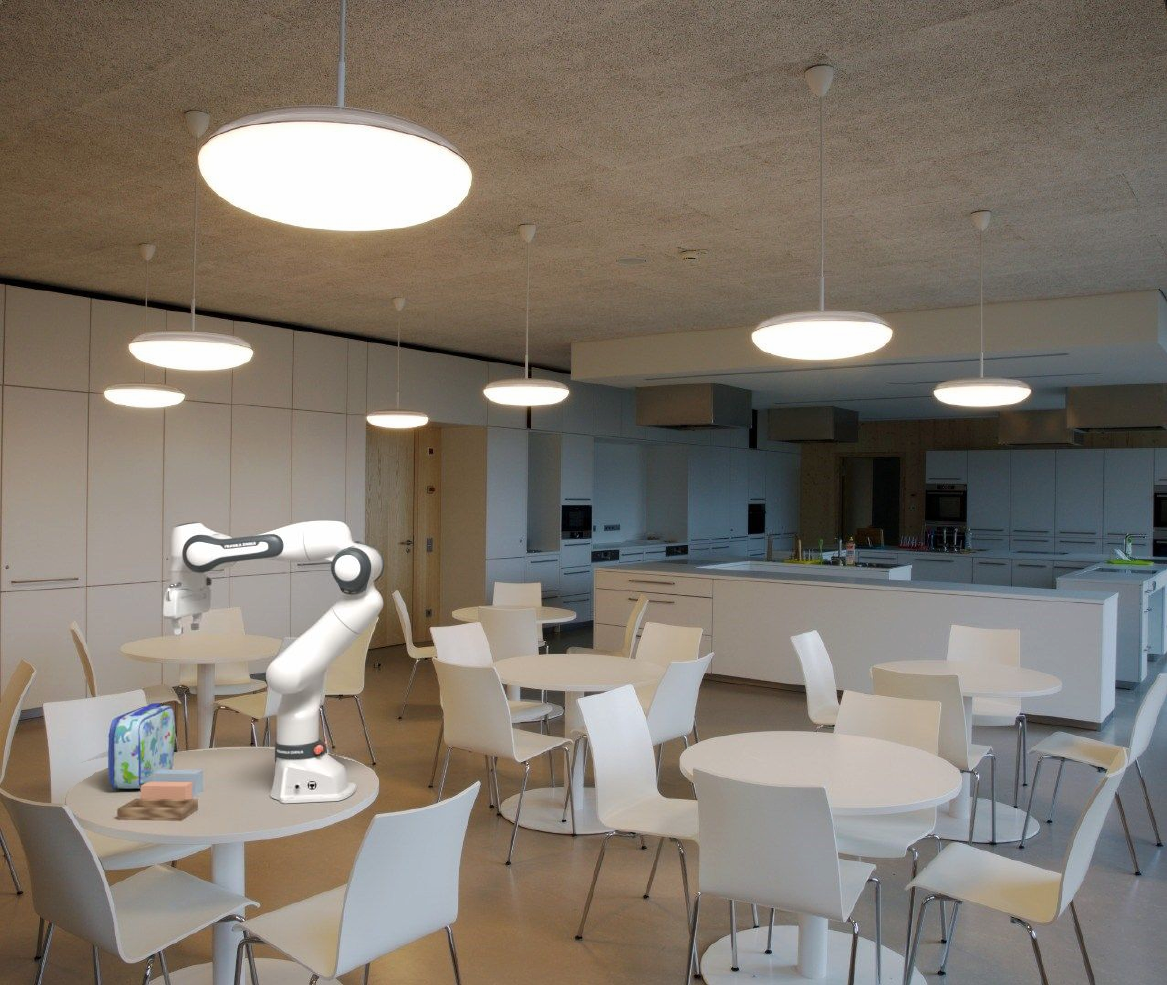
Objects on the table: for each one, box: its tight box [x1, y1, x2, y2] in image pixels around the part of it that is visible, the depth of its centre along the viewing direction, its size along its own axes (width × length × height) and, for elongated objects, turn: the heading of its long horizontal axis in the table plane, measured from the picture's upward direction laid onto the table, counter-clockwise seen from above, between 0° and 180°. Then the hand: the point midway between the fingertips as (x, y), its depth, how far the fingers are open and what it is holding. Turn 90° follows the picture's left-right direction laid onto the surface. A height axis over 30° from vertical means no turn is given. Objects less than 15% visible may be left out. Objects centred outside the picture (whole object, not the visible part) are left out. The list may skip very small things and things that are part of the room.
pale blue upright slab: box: [153, 768, 204, 797], centre depth 254 cm, size 12×4×6 cm, turn 86°
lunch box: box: [107, 702, 176, 790], centre depth 266 cm, size 26×11×21 cm, turn 3°
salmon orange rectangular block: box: [140, 782, 193, 799], centre depth 246 cm, size 12×4×5 cm, turn 87°
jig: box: [116, 798, 199, 821], centre depth 235 cm, size 16×8×3 cm, turn 87°
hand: (187, 632), depth 255 cm, fingers open, 8 cm apart
